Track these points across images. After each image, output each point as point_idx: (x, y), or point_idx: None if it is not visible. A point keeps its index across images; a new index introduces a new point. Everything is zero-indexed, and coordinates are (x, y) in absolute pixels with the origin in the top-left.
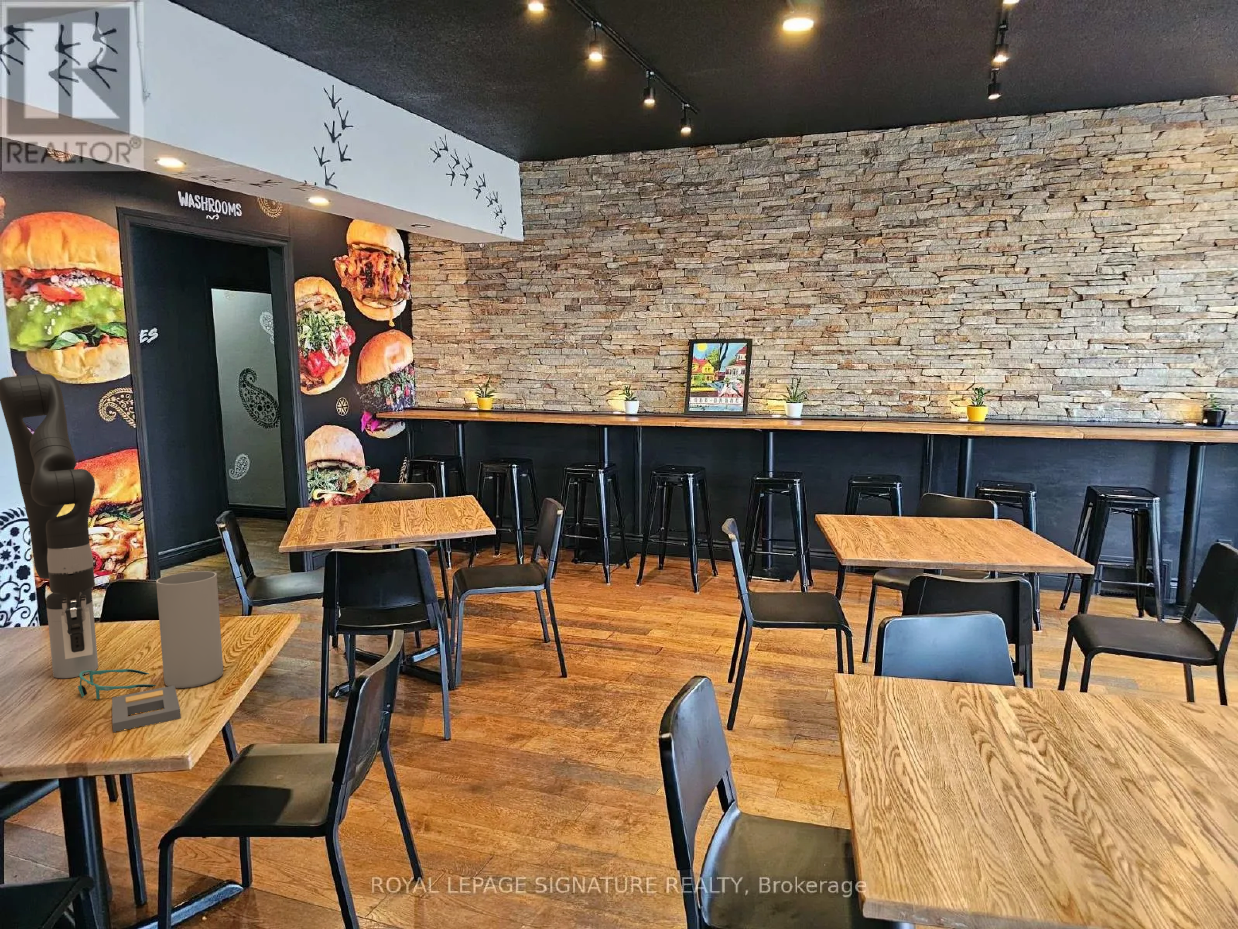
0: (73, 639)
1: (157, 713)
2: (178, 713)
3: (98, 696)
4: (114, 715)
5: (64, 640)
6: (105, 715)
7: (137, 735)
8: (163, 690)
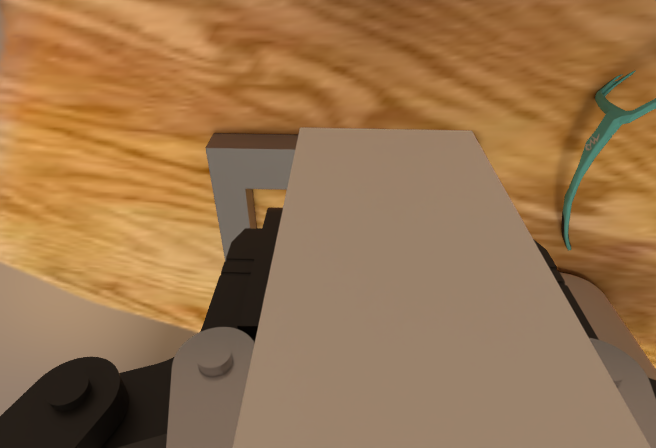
0: (213, 310)
1: (226, 253)
2: None
3: (598, 102)
4: (282, 155)
5: (277, 235)
6: (401, 115)
7: (162, 188)
8: None
